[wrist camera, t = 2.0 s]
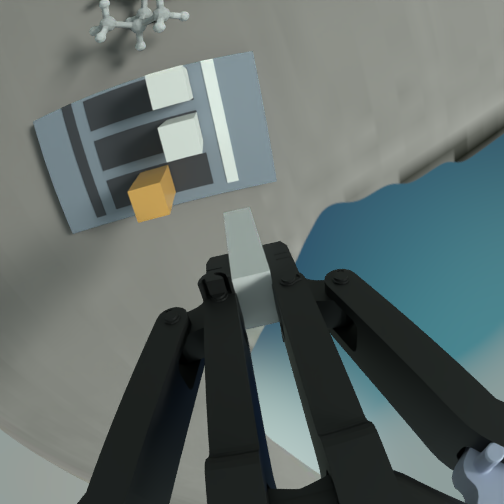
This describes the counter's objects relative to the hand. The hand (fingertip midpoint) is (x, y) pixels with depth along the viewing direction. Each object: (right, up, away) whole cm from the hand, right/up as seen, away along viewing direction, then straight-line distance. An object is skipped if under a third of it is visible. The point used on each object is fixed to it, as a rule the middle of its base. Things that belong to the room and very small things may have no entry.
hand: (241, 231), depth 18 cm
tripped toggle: (-9, +6, +13) cm, 17 cm away
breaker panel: (-10, +10, +13) cm, 19 cm away
